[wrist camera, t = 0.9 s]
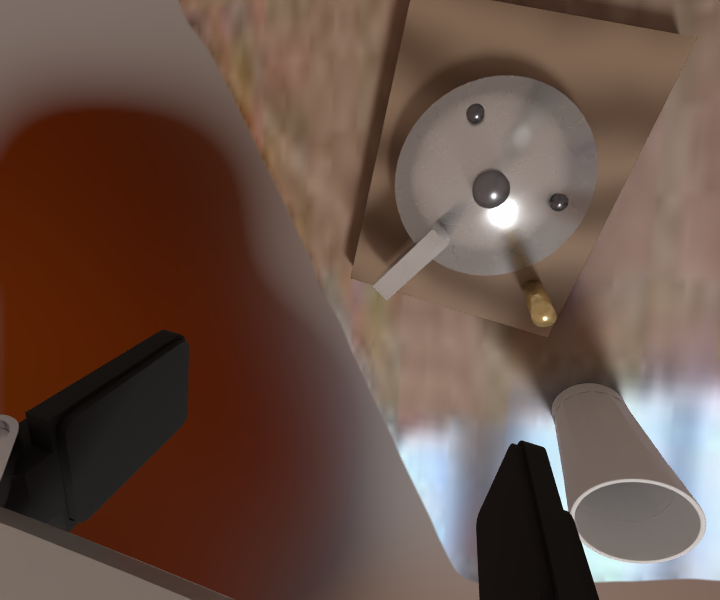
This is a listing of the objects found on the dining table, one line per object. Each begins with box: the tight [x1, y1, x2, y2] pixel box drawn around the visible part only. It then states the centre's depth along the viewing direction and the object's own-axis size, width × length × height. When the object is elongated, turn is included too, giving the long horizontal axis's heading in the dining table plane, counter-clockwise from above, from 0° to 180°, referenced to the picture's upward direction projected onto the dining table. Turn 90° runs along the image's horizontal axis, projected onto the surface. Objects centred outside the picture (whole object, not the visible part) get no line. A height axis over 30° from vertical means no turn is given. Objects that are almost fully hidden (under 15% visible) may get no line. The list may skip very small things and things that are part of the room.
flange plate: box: [373, 75, 598, 300], centre depth 29 cm, size 18×14×4 cm
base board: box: [351, 0, 697, 338], centre depth 31 cm, size 22×18×2 cm
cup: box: [552, 383, 706, 563], centre depth 32 cm, size 8×8×12 cm
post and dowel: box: [472, 168, 557, 327], centre depth 28 cm, size 12×2×6 cm, turn 31°
